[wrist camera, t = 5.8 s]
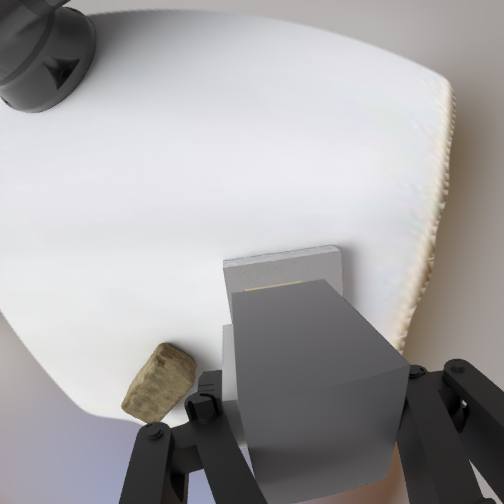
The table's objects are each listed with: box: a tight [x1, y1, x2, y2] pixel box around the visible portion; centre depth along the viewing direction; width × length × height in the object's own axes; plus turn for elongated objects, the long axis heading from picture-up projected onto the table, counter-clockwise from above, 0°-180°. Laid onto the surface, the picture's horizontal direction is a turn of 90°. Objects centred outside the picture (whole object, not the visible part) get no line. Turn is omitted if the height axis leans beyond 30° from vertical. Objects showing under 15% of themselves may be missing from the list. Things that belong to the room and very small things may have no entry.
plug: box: [231, 279, 410, 504], centre depth 14 cm, size 6×5×12 cm
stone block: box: [121, 343, 196, 424], centre depth 36 cm, size 6×12×5 cm, turn 143°
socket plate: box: [223, 245, 343, 324], centre depth 37 cm, size 22×13×4 cm, turn 7°
